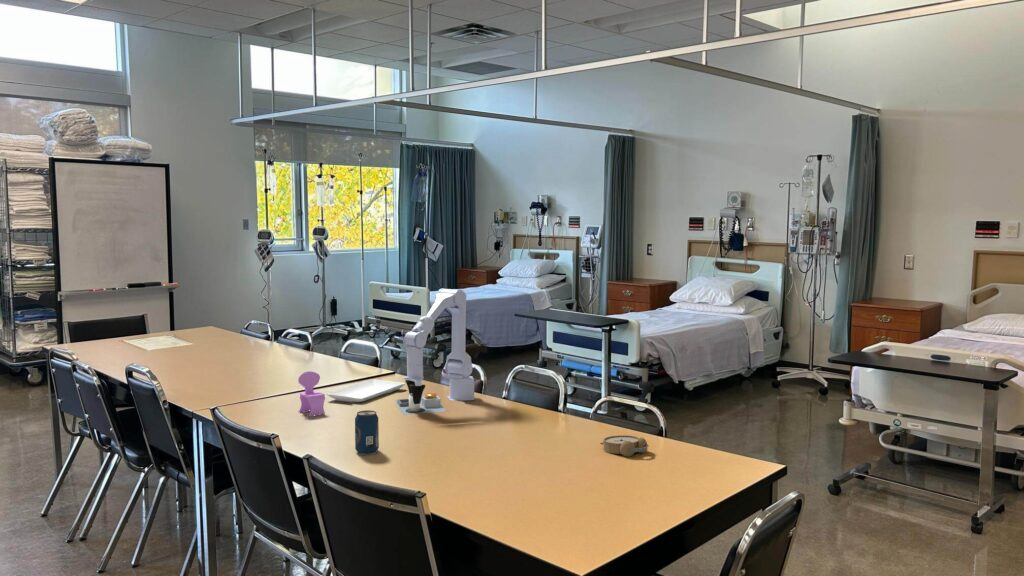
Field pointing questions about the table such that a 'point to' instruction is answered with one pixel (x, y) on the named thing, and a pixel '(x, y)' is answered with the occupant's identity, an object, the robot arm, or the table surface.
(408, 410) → the rubber pad
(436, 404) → the panel
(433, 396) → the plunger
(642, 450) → the alarm clock
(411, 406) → the cartridge
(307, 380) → the toy chair
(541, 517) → the table surface
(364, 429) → the soda can
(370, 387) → the tray
